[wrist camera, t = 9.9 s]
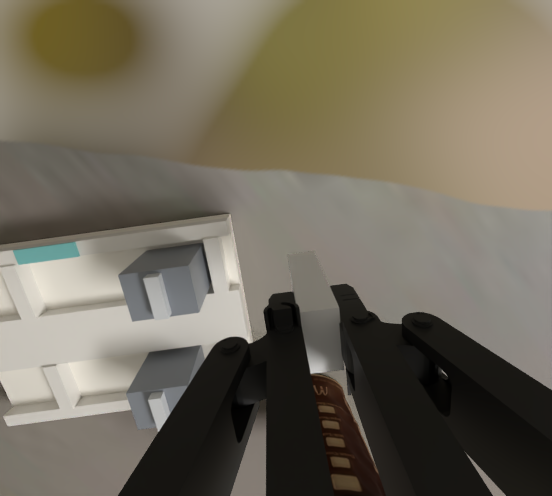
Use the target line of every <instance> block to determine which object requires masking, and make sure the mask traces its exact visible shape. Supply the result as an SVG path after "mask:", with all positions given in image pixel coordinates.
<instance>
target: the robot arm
mask: <svg viewBox="0 0 552 496" xmlns="http://www.w3.org/2000/svg"><path fill="white" fill-rule="evenodd" d="M288 262H289V270H290V278H291V286H292V292H285V293H277V294H273V295H272V296H271V297H270V299H269V305H268V306H267V307H266V308H265V309H264V317H265V324H266V330H267V334H266V335H265V336H264V337H263V338H261V339H259V340H257V341H255V342H252V343H249V344H248V342H247V340H246V339H244V338H242V337H228V338H225V339H222V340H221V341H219V342H217V343H216V344H215V345H214V346H213V348H212V349H211V351H210V352H209V354H208V355H207V357H206V359H205V360H204V362H203V363H202V365H201V366H200V368H199V370H198V371H197V373H196V374H195V376H194V377H193V379H192V380H191V382H190V384H189V385H188V387H187V388H186V390H185V391H184V393H183V395H182V396H181V398H180V399H179V401H178V402H177V404H176V406H175V407H174V409H173V410H172V412H171V413H170V415H169V417H168V418H167V420H166V421H165V423H164V424H163V426H162V427H161V429H160V431H159V432H158V434H157V435H156V437H155V438H154V440H153V442H152V443H151V445H150V446H149V448H148V449H147V451H146V453H145V454H144V456H143V457H142V459H141V460H140V462H139V464H138V465H137V467H136V468H135V470H134V471H133V473H132V474H131V476H130V478H129V479H128V481H127V482H126V484H125V485H124V487H123V489H122V490H121V492H120V493H119V495H118V496H230V494H231V491H232V488H233V485H234V482H235V479H236V476H237V473H238V470H239V467H240V464H241V460H242V457H243V454H244V451H245V448H246V445H247V442H248V439H249V436H250V433H251V430H252V427H253V424H254V421H255V418H256V414H257V411H258V408H259V401H261V400H263V399H266V496H334V492H333V487H332V482H331V476H330V471H329V466H328V461H327V456H326V450H325V445H324V440H323V435H322V430H321V424H320V419H319V414H318V409H317V404H316V398H315V393H314V388H313V383H312V378H311V374H313V373H321V372H329V371H337V370H344V363H345V366H346V375H347V388H348V395H351V393H352V396H353V399H354V402H355V405H356V408H357V411H358V414H359V417H360V420H361V423H362V426H363V429H364V431H365V434H366V437H367V440H368V443H369V446H370V449H371V452H372V455H373V458H374V461H375V464H376V467H377V470H378V473H379V476H380V479H381V482H382V485H383V488H384V491H385V494H386V496H493V495H492V494H491V492H490V490H489V489H488V487H487V486H486V484H485V483H484V481H483V480H482V478H481V476H480V475H479V473H478V472H477V470H476V469H475V467H474V466H473V464H472V462H471V461H470V459H469V458H468V456H467V455H466V453H467V454H468V455H469V456H470V457H471V459H472V460H473V461H474V462H475V463H476V464H477V465H478V466H479V467H480V468H481V469H482V470H483V471H484V472H485V473H486V475H487V476H488V477H489V478H490V479H491V480H492V481H493V482H494V483H495V484H496V485H497V486H498V487H499V488H500V489H501V490H502V492H503V493H504V494H505V495H506V496H552V390H551V389H549V388H547V387H546V386H544V385H543V384H541V383H540V382H538V381H536V380H535V379H533V378H532V377H530V376H529V375H527V374H526V373H524V372H522V371H521V370H519V369H518V368H516V367H515V366H513V365H512V364H510V363H508V362H507V361H505V360H504V359H502V358H501V357H499V356H497V355H496V354H494V353H493V352H491V351H490V350H488V349H487V348H485V347H483V346H482V345H480V344H479V343H477V342H476V341H474V340H473V339H471V338H469V337H468V336H466V335H465V334H463V333H462V332H460V331H458V330H457V329H455V328H454V327H452V326H451V325H449V324H448V323H446V322H444V321H443V320H441V319H440V318H438V317H436V316H434V315H432V314H428V313H424V312H421V313H420V312H415V313H409V314H407V315H405V316H404V317H403V318H402V324H391V323H384V322H381V321H380V319H379V318H378V316H377V315H375V314H374V313H372V312H370V311H367V310H366V308H365V306H364V305H363V303H362V301H361V300H360V299H359V296H358V295H357V293H356V292H355V290H354V288H353V287H351V286H349V285H347V284H341V285H333V286H329V283H328V281H327V279H326V277H325V274H324V272H323V270H322V268H321V265H320V263H319V261H318V259H317V256H316V254H315V252H314V251H307V252H299V253H292V254H288ZM343 360H344V363H343ZM442 370H443V371H444V372H445V373H446V374H447V376H448V377H447V376H446V375H445V374H444V373H442ZM464 451H465V452H466V453H465V452H464Z"/></svg>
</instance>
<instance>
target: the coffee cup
mask: <svg viewBox="0 0 552 496" xmlns="http://www.w3.org/2000/svg"><path fill="white" fill-rule="evenodd" d="M311 378H312V383H313V388H314V393H315V398H316V404H317V409H318V414H319V419H320V424H321V430H322V435H323V440H324V445H325V450H326V456H327V461H328V466H329V471H330V476H331V482H332V487H333V492H334V496H386V494H385V491H384V488H383V485H382V482H381V479H380V476H379V473H378V470H377V468H376V466H375V463H374V461H373V459H372V457H371V455H370V453H369V450H368V447H367V445H366V443H365V441H364V439H363V437H362V435H361V432H360V428H359V426H358V423H357V422H356V420H355V418H354V416H353V414H352V411H351V408H350V407H349V405H348V403H347V401H346V399H345V395H344V392H343V389H342V386H341V385H340V384H339V383H338V382H337V381H335V380H334V379H332V378H329V377H326V376H323V375H319V374H311Z"/></svg>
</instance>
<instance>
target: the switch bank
mask: <svg viewBox="0 0 552 496" xmlns="http://www.w3.org/2000/svg"><path fill="white" fill-rule="evenodd" d="M197 243H203V244H204V249H205V253H206V258H207V263H208V267H209V272H210V277H211V284H210V287H209V289H208V292H207V295H206V297H205V300H204V302H203V305H202V307H201V310H200V312H199V313H193V314H186V315H178V316H171V317H169V319H162V320H155V319H149V320H141V321H134V322H132V319H131V316H130V313H129V309H128V306H127V303H126V300H125V297H124V293H123V290H122V287H121V284H120V280H119V277H118V275H119V274H120V273H121V272H122V271H123V270H124V269H126V268H127V267H128V266H129V265H130V264H131V263H133V262H134V261H135V260H136V259H137V258H138V257H139V256H141V255H142V254H143V253H144V252H145V251H146V250H153V249H160V248H168V247H175V246H182V245H190V244H197ZM228 337H242V338H244V339H246V340H247V342H248V344H249V343H252V342H253V339H252V333H251V327H250V322H249V316H248V311H247V305H246V299H245V294H244V288H243V283H242V277H241V271H240V266H239V260H238V255H237V249H236V243H235V238H234V232H233V227H232V221H231V215H230V214H222V215H215V216H208V217H200V218H193V219H186V220H178V221H171V222H164V223H157V224H149V225H142V226H135V227H127V228H120V229H113V230H105V231H98V232H91V233H83V234H76V235H69V236H62V237H54V238H47V239H40V240H32V241H25V242H18V243H10V244H3V245H0V381H1V383H2V385H3V387H4V390H5V392H6V394H7V396H8V398H9V400H10V402H11V404H12V406H13V407H12V408H11V409H10V410H9V411H8V412H7V413H6V414H5V415H4V416H3V417H4V419H5V421H6V423H7V425H8V426H14V425H22V424H29V423H37V422H44V421H51V420H59V419H66V418H74V417H81V416H89V415H96V414H104V413H111V412H118V411H126V410H131V407H130V405H129V402H128V399H127V396H126V392H127V391H128V389H129V387H130V385H131V384H132V382H133V380H134V378H135V376H136V375H137V373H138V371H139V369H140V368H141V366H142V364H143V362H144V361H145V359H146V357H147V355H148V353H149V352H153V351H160V350H167V349H175V348H182V347H190V346H197V345H202V349H203V353H204V358H205V359H206V357H207V355H208V354H209V352H210V351H211V349H212V348H213V346H214V345H215V344H216V343H217V342H219V341H221V340H222V339H225V338H228Z"/></svg>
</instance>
